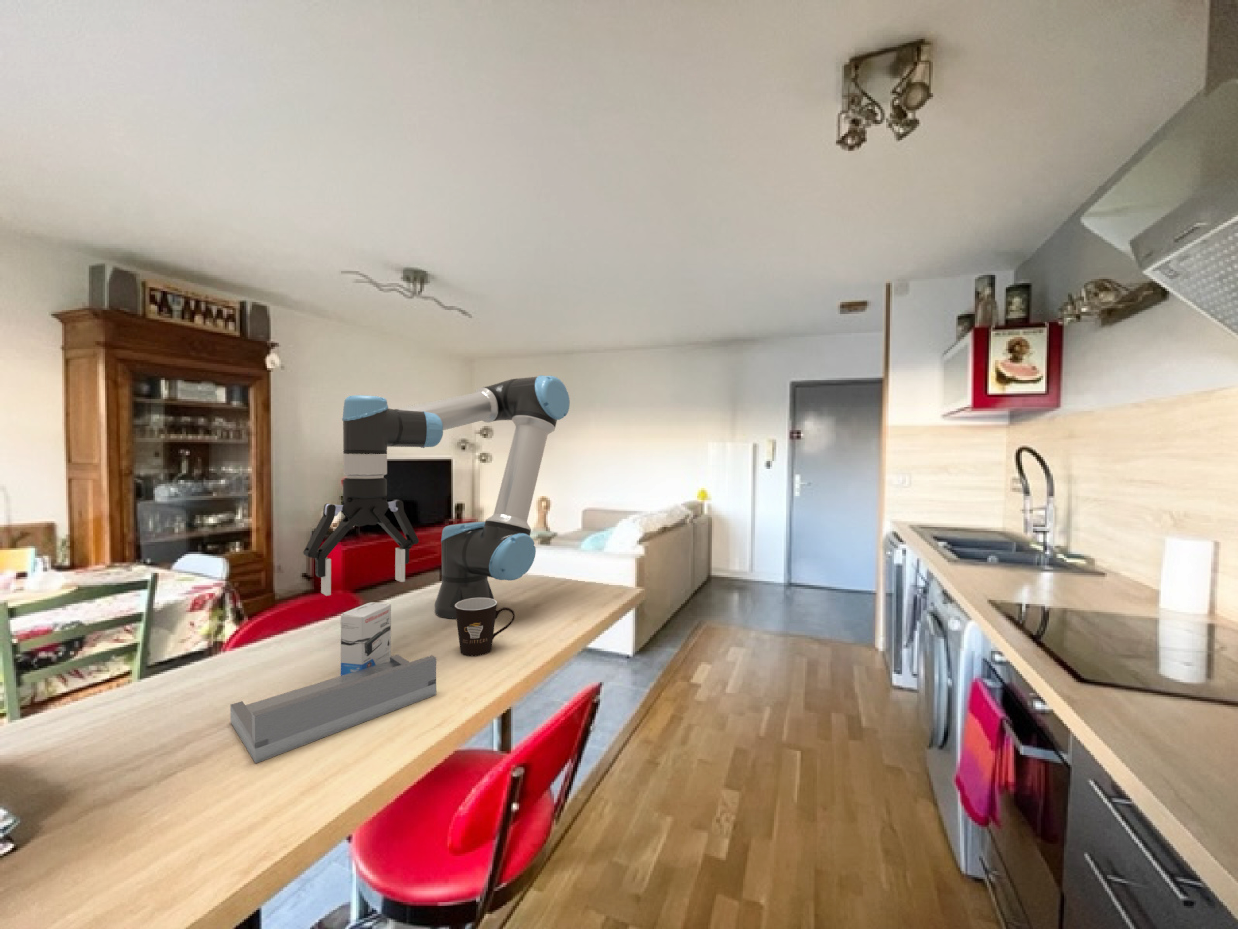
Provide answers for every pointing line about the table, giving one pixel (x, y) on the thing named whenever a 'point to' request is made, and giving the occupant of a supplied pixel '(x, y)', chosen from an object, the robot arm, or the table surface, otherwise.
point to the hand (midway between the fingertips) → (364, 587)
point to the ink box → (365, 637)
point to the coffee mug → (477, 625)
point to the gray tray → (331, 705)
